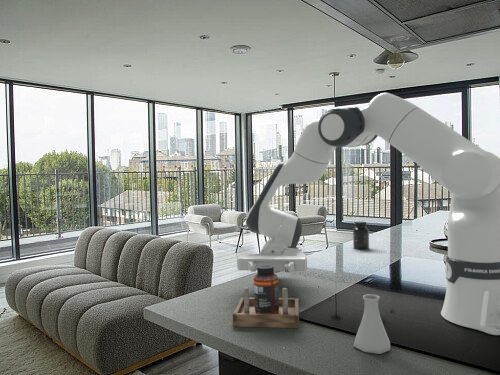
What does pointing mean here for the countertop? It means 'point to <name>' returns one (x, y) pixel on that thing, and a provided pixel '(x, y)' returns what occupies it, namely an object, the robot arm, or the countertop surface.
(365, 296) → the flask
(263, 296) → the supplement bottle
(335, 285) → the countertop surface
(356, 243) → the supplement bottle
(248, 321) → the tray
